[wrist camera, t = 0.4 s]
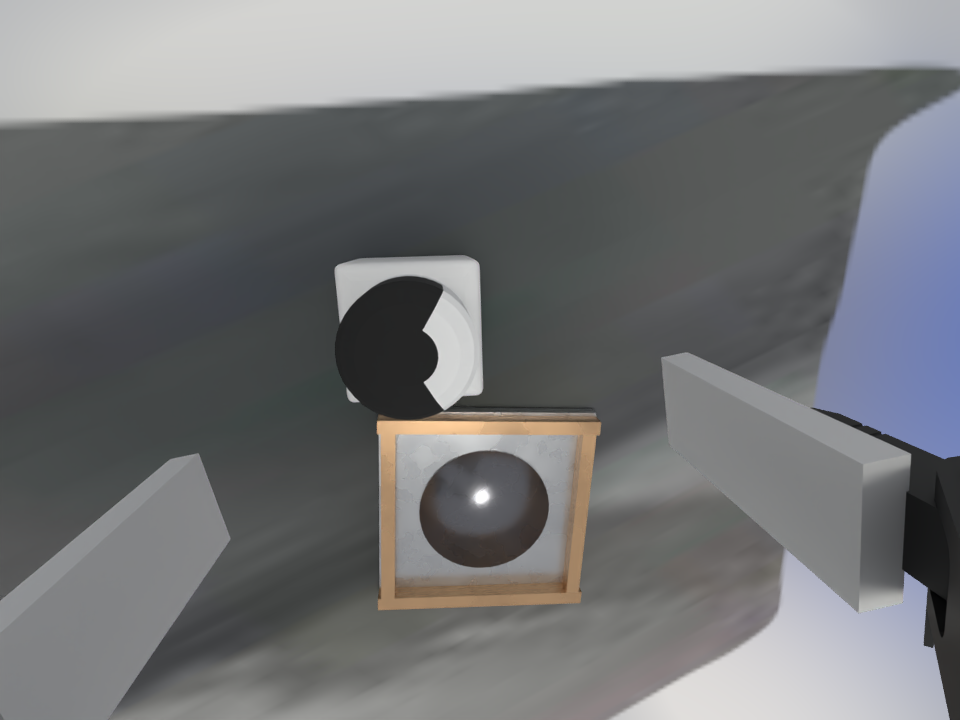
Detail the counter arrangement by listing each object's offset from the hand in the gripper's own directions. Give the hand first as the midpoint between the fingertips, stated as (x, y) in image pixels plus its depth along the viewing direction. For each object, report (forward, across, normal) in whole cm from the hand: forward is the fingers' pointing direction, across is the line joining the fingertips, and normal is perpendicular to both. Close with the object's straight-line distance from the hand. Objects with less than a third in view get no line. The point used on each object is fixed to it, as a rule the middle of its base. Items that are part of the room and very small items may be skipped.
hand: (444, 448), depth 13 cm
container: (+21, -2, +1) cm, 21 cm away
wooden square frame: (+21, 0, -15) cm, 26 cm away
